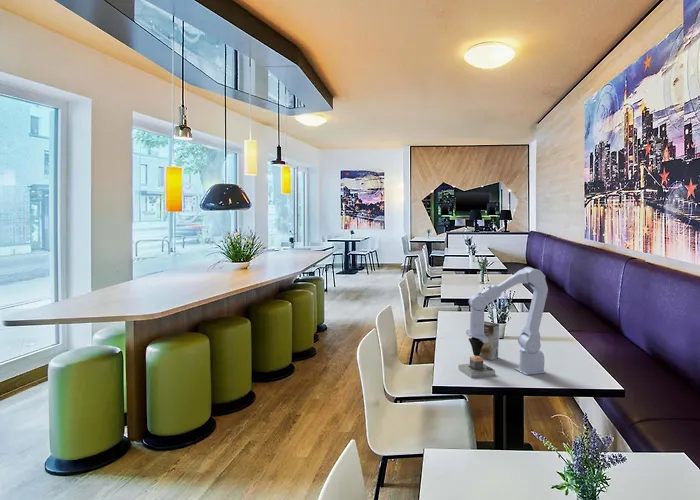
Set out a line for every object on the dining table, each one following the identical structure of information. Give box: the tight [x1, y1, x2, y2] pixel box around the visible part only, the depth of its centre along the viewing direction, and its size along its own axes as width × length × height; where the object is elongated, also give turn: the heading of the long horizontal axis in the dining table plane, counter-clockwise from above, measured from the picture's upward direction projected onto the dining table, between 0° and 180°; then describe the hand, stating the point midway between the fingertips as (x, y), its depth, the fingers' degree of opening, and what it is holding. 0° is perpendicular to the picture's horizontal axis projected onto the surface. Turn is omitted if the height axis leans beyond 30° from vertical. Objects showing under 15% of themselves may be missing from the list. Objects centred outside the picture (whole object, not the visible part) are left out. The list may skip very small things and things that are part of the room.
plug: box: [469, 355, 484, 370], centre depth 203 cm, size 4×4×6 cm
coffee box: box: [479, 320, 500, 361], centre depth 223 cm, size 9×6×16 cm
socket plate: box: [458, 363, 496, 379], centre depth 203 cm, size 11×11×2 cm
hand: (476, 355), depth 202 cm, fingers closed
